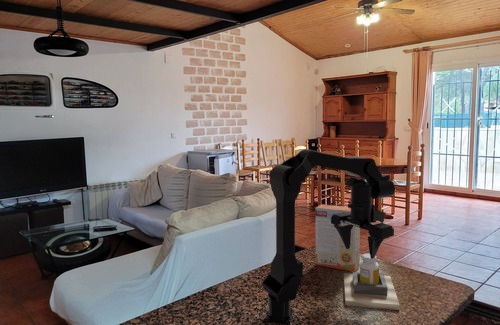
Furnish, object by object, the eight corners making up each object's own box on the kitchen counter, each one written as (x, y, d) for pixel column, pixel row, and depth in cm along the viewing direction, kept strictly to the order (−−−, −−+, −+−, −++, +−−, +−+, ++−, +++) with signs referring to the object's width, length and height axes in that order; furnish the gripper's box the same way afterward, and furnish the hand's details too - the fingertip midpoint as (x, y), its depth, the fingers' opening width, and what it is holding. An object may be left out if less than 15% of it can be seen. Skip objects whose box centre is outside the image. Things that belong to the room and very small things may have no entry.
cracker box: (360, 266, 128) (360, 207, 125) (354, 273, 123) (355, 211, 120) (321, 259, 135) (321, 203, 132) (315, 265, 130) (314, 206, 127)
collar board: (399, 310, 99) (399, 295, 99) (345, 305, 102) (345, 291, 102) (389, 280, 117) (390, 268, 116) (343, 277, 120) (344, 265, 119)
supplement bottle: (376, 283, 112) (376, 252, 110) (380, 291, 106) (381, 259, 105) (357, 283, 112) (358, 252, 111) (361, 291, 107) (361, 259, 106)
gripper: (407, 203, 102) (405, 257, 104) (355, 192, 118) (354, 239, 120) (380, 208, 96) (379, 266, 98) (329, 196, 112) (329, 246, 114)
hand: (359, 253), depth 108 cm, fingers open, 9 cm apart
